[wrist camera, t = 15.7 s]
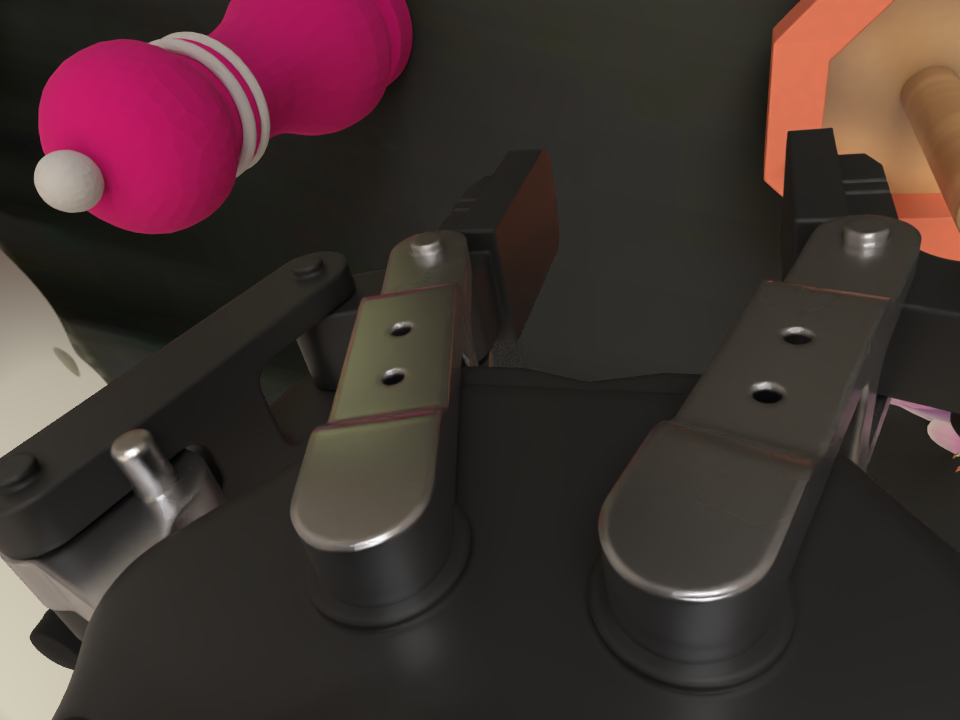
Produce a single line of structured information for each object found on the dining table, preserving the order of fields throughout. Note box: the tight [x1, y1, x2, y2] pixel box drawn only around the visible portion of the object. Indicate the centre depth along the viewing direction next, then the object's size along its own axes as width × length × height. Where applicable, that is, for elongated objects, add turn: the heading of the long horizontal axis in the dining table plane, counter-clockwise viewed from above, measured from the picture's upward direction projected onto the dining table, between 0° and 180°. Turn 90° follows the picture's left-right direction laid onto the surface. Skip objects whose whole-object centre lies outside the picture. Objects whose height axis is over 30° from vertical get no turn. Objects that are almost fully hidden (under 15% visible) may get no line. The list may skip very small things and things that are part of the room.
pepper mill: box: [34, 0, 413, 234], centre depth 28 cm, size 7×7×20 cm
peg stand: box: [822, 0, 960, 232], centre depth 25 cm, size 9×9×12 cm
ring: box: [764, 0, 960, 261], centre depth 27 cm, size 13×13×2 cm
